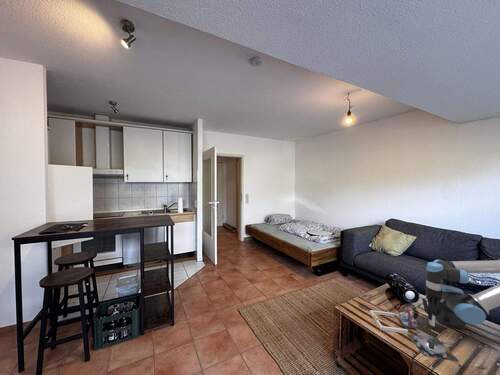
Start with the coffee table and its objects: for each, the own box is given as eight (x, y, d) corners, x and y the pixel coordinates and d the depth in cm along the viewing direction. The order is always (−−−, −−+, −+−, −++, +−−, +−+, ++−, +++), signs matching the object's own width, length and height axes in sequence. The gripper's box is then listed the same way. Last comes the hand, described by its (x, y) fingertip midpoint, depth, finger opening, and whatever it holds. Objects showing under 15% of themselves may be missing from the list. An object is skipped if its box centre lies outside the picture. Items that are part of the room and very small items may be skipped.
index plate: (437, 339, 119) (437, 337, 119) (459, 362, 104) (459, 361, 104) (406, 335, 122) (406, 333, 122) (424, 357, 106) (424, 355, 106)
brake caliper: (425, 329, 124) (411, 311, 126) (407, 336, 127) (394, 318, 129) (416, 318, 134) (404, 301, 137) (400, 324, 137) (388, 308, 140)
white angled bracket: (393, 316, 139) (393, 311, 139) (408, 334, 122) (408, 328, 122) (369, 313, 142) (369, 308, 142) (380, 330, 125) (380, 325, 125)
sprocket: (414, 332, 124) (414, 322, 123) (449, 345, 113) (449, 335, 113) (412, 346, 112) (413, 336, 112) (451, 363, 102) (451, 351, 102)
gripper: (441, 286, 130) (439, 322, 130) (418, 283, 132) (416, 319, 132) (450, 292, 122) (448, 330, 123) (425, 289, 125) (424, 327, 125)
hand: (431, 324), depth 128 cm, fingers closed
